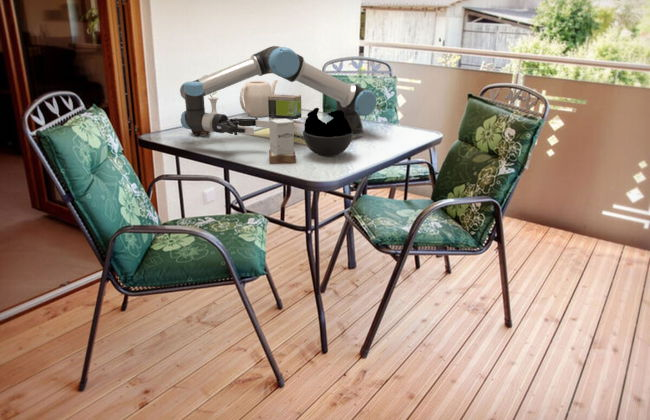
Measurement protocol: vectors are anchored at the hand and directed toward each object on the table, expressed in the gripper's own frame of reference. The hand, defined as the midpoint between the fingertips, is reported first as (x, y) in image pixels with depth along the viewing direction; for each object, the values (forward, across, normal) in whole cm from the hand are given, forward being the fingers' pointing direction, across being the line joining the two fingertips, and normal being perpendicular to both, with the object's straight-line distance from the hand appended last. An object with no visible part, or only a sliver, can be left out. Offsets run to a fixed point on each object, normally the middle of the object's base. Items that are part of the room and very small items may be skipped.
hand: (262, 127), depth 195 cm
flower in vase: (-54, -46, -12) cm, 72 cm away
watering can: (-46, -79, -12) cm, 92 cm away
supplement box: (+9, 0, -9) cm, 13 cm away
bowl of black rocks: (+23, -13, -12) cm, 29 cm away
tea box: (-23, -65, -12) cm, 70 cm away
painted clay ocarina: (-46, -24, -12) cm, 54 cm away
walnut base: (+9, 0, -12) cm, 15 cm away
